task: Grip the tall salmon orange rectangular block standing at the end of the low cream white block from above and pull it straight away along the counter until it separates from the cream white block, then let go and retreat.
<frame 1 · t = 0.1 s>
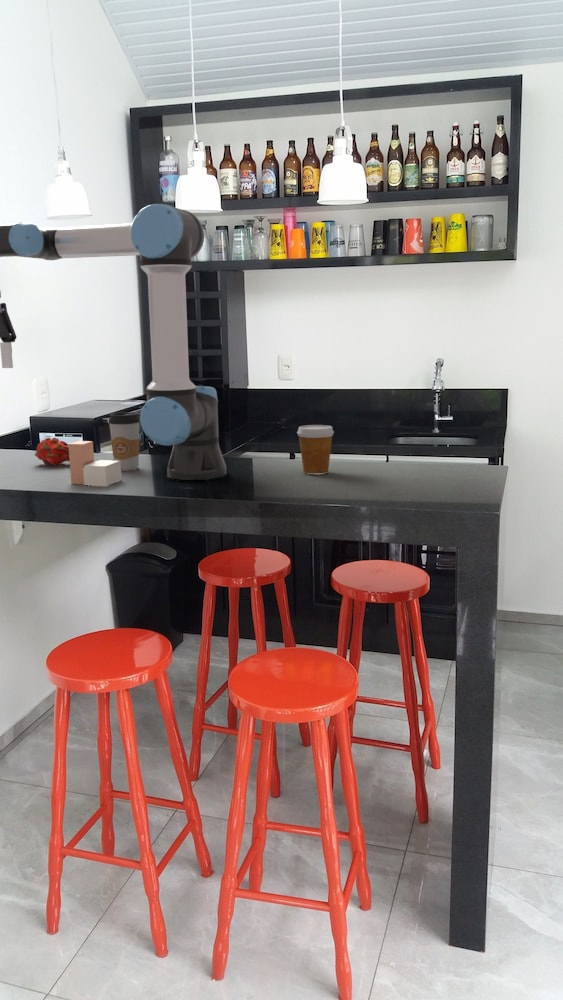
cream white block: (103, 482, 207), on the table
coffee cup: (126, 469, 226), on the table
disposable coffee cup: (315, 473, 215), on the table
salmon orange rectangular block: (82, 462, 208), point 5 cm above the table, slide at 0.0 cm
dragon fruit: (56, 465, 234), on the table
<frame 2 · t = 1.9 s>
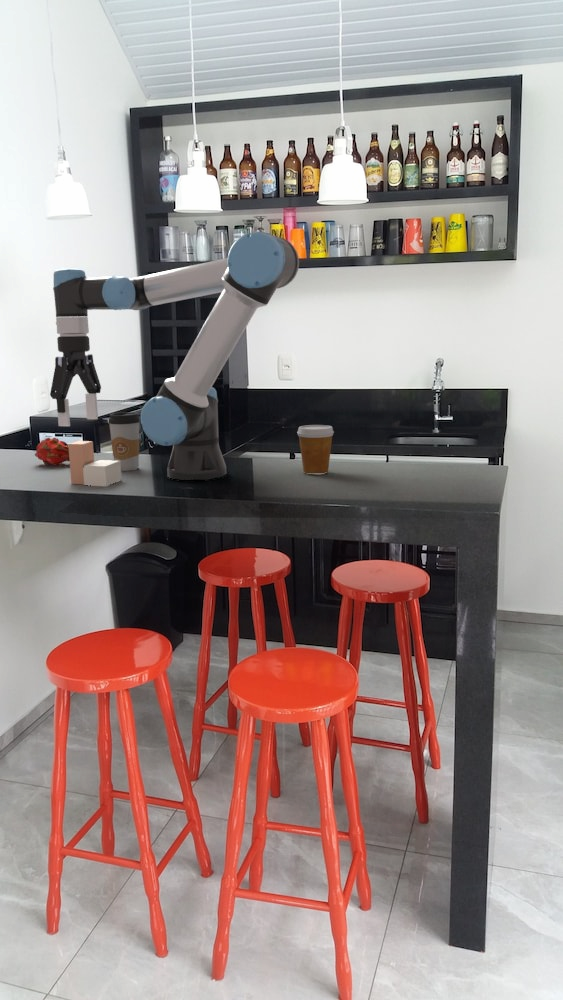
hand: (78, 422, 206), 15 cm above the table, tool pointing down, fingers open, 13 cm apart
nothing on the table moved.
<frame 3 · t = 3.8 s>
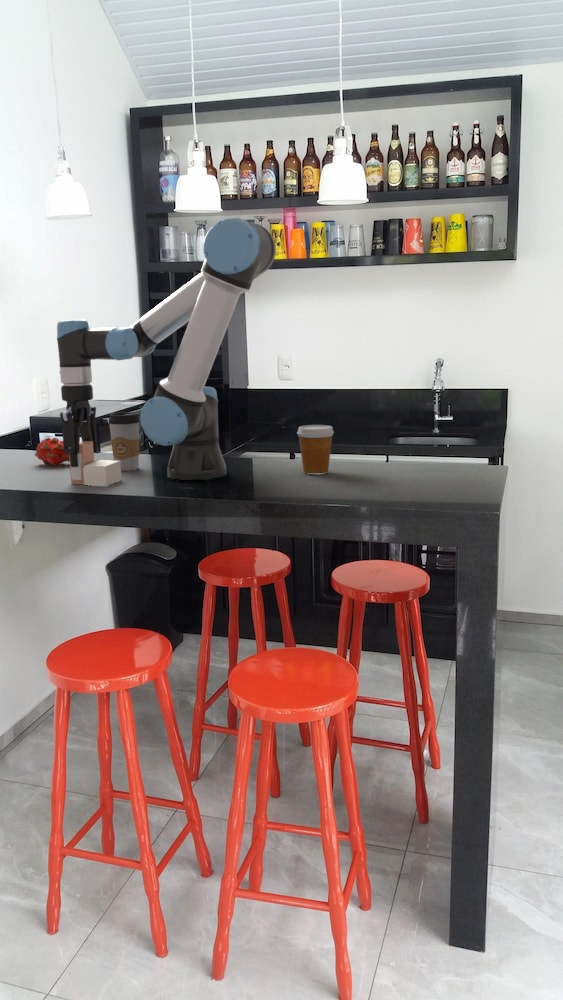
hand: (83, 477, 209), 1 cm above the table, tool pointing down, fingers closed on salmon orange rectangular block, 5 cm apart
salmon orange rectangular block: (82, 462, 208), point 5 cm above the table, slide at 0.0 cm, touching gripper
everything else where it was.
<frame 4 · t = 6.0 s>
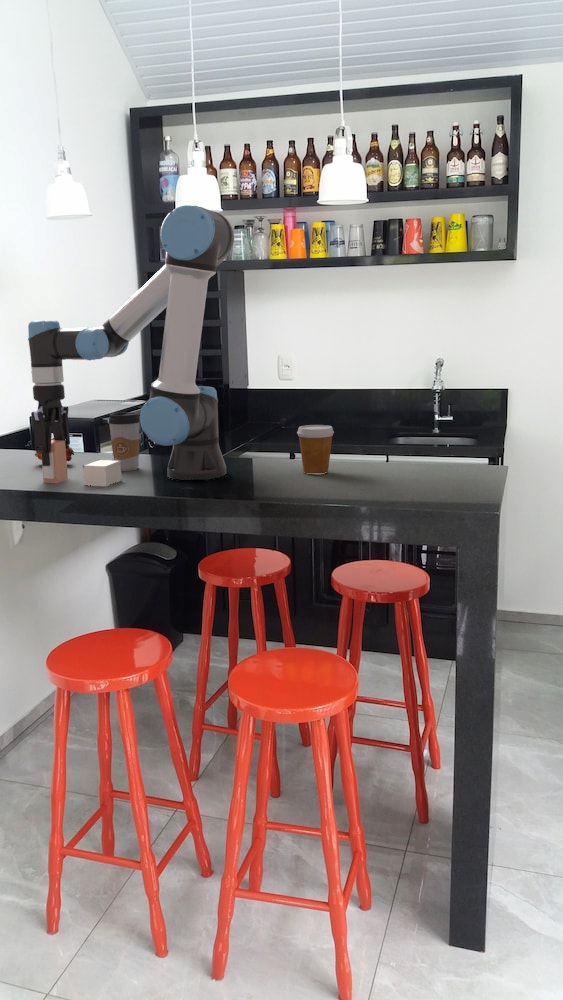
hand: (55, 475, 211), 1 cm above the table, tool pointing down, fingers closed on salmon orange rectangular block, 5 cm apart
salmon orange rectangular block: (54, 461, 210), point 5 cm above the table, slide at 7.9 cm, touching gripper
everything else where it was.
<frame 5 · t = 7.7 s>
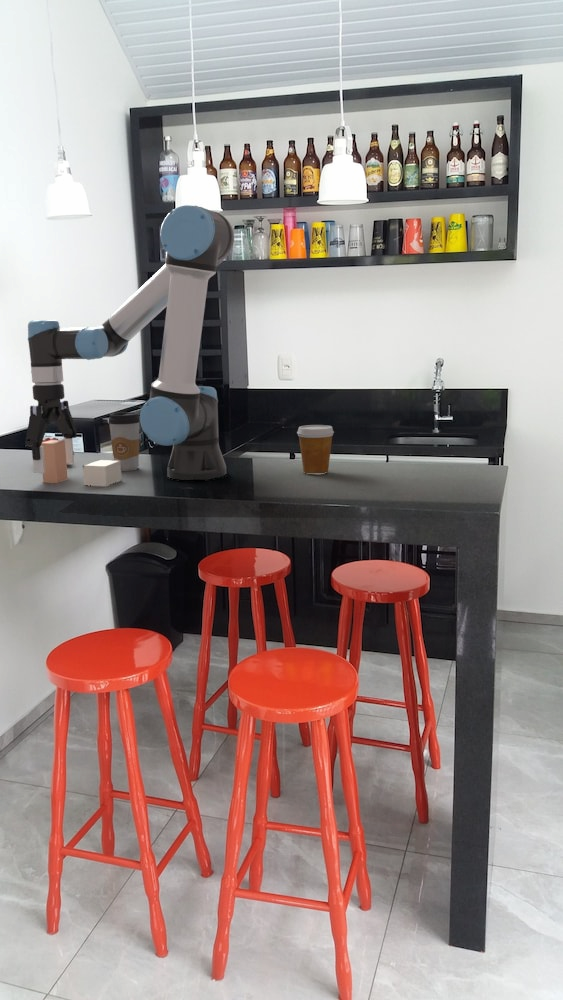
hand: (54, 468, 210), 3 cm above the table, tool pointing down, fingers open, 13 cm apart
salmon orange rectangular block: (54, 461, 210), point 5 cm above the table, slide at 8.0 cm
everything else where it was.
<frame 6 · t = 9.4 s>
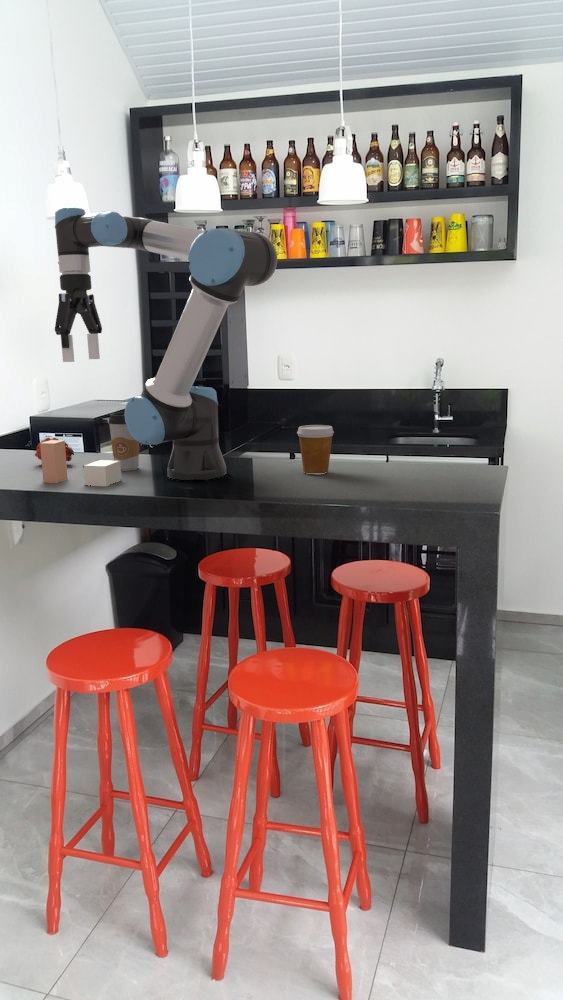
hand: (81, 360, 211), 30 cm above the table, tool pointing down, fingers open, 13 cm apart
nothing on the table moved.
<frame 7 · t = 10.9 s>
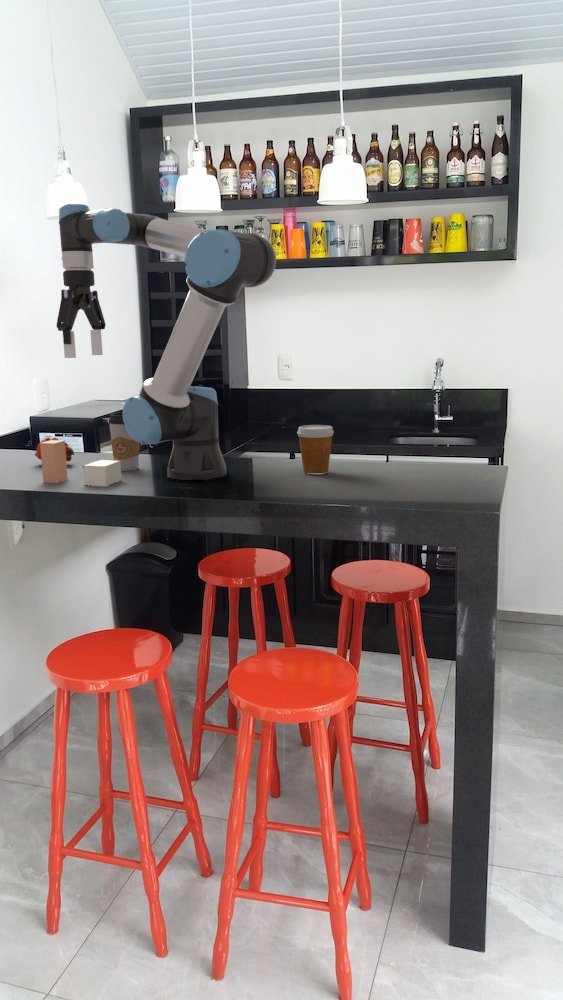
hand: (84, 356, 211), 31 cm above the table, tool pointing down, fingers open, 13 cm apart
nothing on the table moved.
at the end: salmon orange rectangular block slide at 8.0 cm; the gripper is holding nothing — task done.
